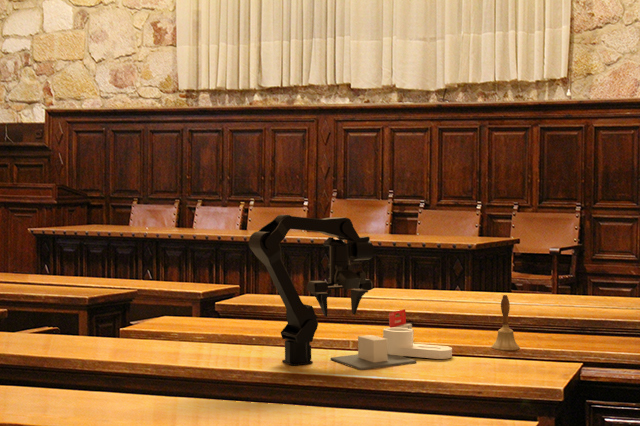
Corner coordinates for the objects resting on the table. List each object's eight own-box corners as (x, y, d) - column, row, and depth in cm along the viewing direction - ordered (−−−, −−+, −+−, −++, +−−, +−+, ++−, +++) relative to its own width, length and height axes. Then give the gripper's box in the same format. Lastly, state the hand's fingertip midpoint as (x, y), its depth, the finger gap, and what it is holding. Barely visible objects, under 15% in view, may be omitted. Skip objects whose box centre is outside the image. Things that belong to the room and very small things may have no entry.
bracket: (379, 353, 233) (379, 330, 233) (387, 349, 241) (387, 326, 241) (448, 359, 227) (449, 335, 227) (454, 354, 235) (454, 331, 235)
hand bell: (520, 350, 240) (520, 297, 240) (491, 350, 242) (491, 296, 241) (519, 345, 248) (519, 293, 248) (491, 344, 250) (491, 293, 249)
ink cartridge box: (412, 339, 260) (412, 309, 260) (395, 345, 251) (395, 313, 251) (405, 339, 262) (405, 308, 262) (388, 344, 252) (388, 313, 252)
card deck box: (358, 357, 229) (358, 336, 229) (371, 355, 231) (371, 334, 231) (373, 362, 222) (373, 340, 222) (387, 360, 224) (387, 339, 224)
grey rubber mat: (360, 370, 215) (360, 367, 215) (330, 359, 229) (330, 357, 229) (416, 362, 224) (416, 360, 224) (383, 353, 238) (383, 351, 238)
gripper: (323, 264, 221) (324, 321, 221) (382, 261, 229) (382, 316, 230) (305, 261, 231) (305, 316, 231) (362, 259, 239) (362, 312, 240)
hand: (339, 315), depth 233 cm, fingers open, 9 cm apart
